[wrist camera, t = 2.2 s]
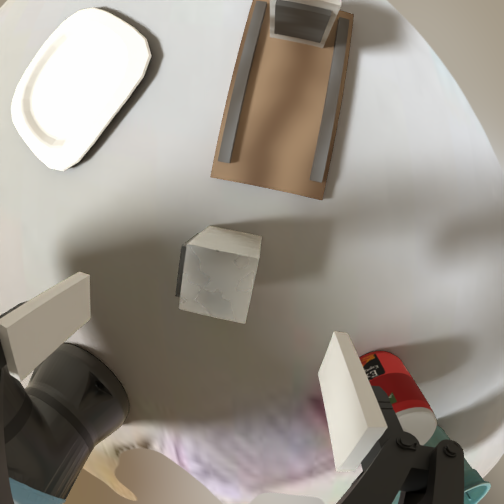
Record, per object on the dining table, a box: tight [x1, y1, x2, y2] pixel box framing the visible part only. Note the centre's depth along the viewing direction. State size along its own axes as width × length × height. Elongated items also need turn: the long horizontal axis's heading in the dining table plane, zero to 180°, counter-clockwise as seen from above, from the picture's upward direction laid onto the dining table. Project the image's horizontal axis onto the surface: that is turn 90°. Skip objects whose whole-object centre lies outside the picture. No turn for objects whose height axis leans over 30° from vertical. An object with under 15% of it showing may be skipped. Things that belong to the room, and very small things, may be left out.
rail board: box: [211, 0, 354, 200], centre depth 19 cm, size 10×20×9 cm, turn 169°
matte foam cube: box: [176, 226, 262, 324], centre depth 24 cm, size 6×5×8 cm
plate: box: [11, 7, 152, 171], centre depth 24 cm, size 18×18×2 cm
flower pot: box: [392, 425, 491, 504], centre depth 27 cm, size 16×16×16 cm
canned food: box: [359, 351, 437, 445], centre depth 25 cm, size 8×8×11 cm
